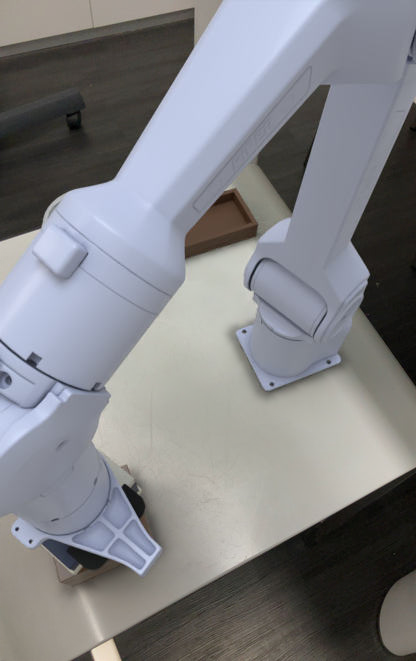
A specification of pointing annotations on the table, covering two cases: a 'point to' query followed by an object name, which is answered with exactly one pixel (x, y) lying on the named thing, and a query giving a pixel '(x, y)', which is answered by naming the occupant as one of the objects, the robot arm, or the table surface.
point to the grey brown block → (86, 574)
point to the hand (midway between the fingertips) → (89, 513)
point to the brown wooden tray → (221, 225)
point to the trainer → (60, 548)
